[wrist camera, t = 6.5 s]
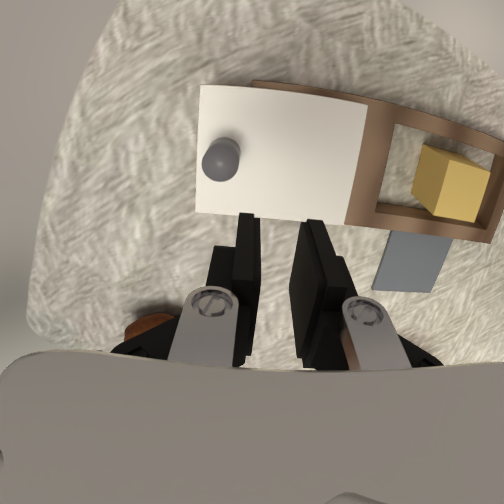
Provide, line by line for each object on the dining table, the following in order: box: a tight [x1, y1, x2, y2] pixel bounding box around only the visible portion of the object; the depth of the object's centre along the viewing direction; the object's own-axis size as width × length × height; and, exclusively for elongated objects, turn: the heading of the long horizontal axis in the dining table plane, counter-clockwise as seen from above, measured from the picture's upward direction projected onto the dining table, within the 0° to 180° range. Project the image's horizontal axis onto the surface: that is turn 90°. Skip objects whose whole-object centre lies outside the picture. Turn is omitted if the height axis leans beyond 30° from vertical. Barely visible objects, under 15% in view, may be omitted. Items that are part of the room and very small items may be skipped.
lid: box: [196, 84, 368, 226], centre depth 22 cm, size 12×10×4 cm
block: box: [411, 144, 491, 223], centre depth 25 cm, size 5×5×5 cm
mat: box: [372, 230, 453, 293], centre depth 32 cm, size 8×8×1 cm
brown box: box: [251, 80, 504, 244], centre depth 26 cm, size 27×11×2 cm, turn 85°
